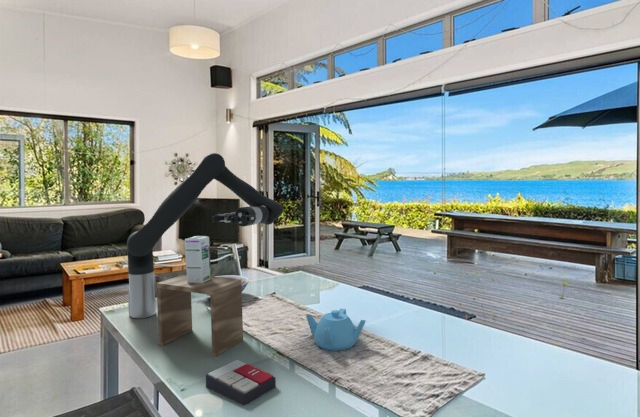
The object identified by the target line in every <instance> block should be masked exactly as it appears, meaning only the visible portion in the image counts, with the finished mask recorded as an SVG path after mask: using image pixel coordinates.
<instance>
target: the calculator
mask: <svg viewBox="0 0 640 417" xmlns="http://www.w3.org/2000/svg"><path fill="white" fill-rule="evenodd" d="M276 379H277V378H276V377H275V376H274V375H273V374H270V373H269V372H266V371H264V370H262V369H260V368H258V367H256V366H254V365H251V364H249V363H246V362H243V361H241V360H239V359H236V360H233V361H231V362H229V363H227V364H225V365H223V366H221V367H218V368H217V369H214V370H212V371H211V372H208V373H207V374H205V387H206V389H209V390H211V391H213V392H214V393H215V392H216V393H219V394H220V395H222V396H224V397H226V398H227V399H230V400H232V401H234V402H236V403H238V404H240V405H242V406H246V405H248V404H250V403H251V402H253V401H255V400H257V399H258V398H261V396H263V395H265V394H267V393H269V392H270V391H272V390H274V389H275V388H276V381H277V380H276Z"/></svg>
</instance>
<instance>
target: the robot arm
mask: <svg viewBox="0 0 640 417" xmlns="http://www.w3.org/2000/svg"><path fill="white" fill-rule="evenodd" d="M213 180H215V181H217V182H219V183H220V184H222V185H223V186H224V187H226V188H228V189H229V190H230V191H231V192H233V193H234V194H235V195H236V196H237V197H238V198H240V199H241V200H242V201H243V202H244V203H246V204H247V205H248V206H242V207H239V208H237V209H236V210H235V211H234V212H230V213H229V212H225V213H217V214H215V215H213V216H212V217H211V221H212V223H221V222H224V223H226V224H227V223H230V224H237V225H238V226H240V227H247V226H248V227H249V226H255V225H257V224H263V225H267V226H268V225H272V224H274V222H276V220H277V219H279V217H280V216H282V214H283V213H284V208H283V205H282V204H281V203H280V202H278V201H276V200H274V199H272V198H269V197H268V196H265V195H263V193H261V192H259V191H258V190H257V189H256V188H255V187H254V186H252V185H251V184H249V183H248V182H246V181H245V180H243V179H241V178H239V176H237V175H236V174H235V173H233V172H232V171H231V170H230V169H229V168H228V167H227V166H226V161H225V159H224V157H223V156H222V155H221V154H220V153H216V152H212V153H211V152H210V153H209V154H207V155H205V156H204V157H203V159H202V160H201V162H200V163H199V164H198V166H197V167H196V169H194V171H193V172H192V173H191V174H190V175H189V176H188V177H187V178H185V180H183V181H182V182H181V183H180V184H178V186H176V188H174V190H172V191H171V193H170V194H169V195H167V197H166V198H165V199H164V200H163V201H162V202H161V204H160V205H159V206H158V208H156V211H155V212H154V214H153V216H152V217H151V218H150V219H149V221H148V222H147V223H146V224H144V225H143V227H141V228H140V229H139V230H136V231H134V232H132V233H131V234H130V235H129V236H128V238H127V240H126V248H127V249H126V250H127V251H126V252H127V266H128V267H127V270H128V282H129V283H128V284H129V285H128V286H129V289H128V292H127V301H128V302H127V303H128V316H130V317H131V318H133V319H145V318H149V317H153V316H155V315H156V314H157V308H156V304H157V303H156V285H155V284H156V282H155V268H154V267H155V265H154V264H155V263H154V251H153V250H154V247H156V245H157V243H158V242H159V241H160V239H161V238H162V236H163V235H164V234H165V233H166V232H167V231H168V230H169V229H170V228H171V227H172V226H173V225H174V224H175V223H177V221H178V220H180V219H181V218H182V217H183V215H185V214H186V212H187V211H188V210H189V209H190V208H191V207H192V205H193V204H194V203H195V202H196V200H197V199H198V198H199V196H200V195H201V194H202V192H203V191H204V190H205V188H206V187H207V186H208V185H209V184H210V183H211V182H212V181H213Z"/></svg>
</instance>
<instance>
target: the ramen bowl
mask: <svg viewBox="0 0 640 417" xmlns="http://www.w3.org/2000/svg"><path fill="white" fill-rule="evenodd" d="M214 277H223V278H232V279H241V284H242V292H243V291H244V290H245V289H246V287H247V285H248V284H249V282H250V279H249V278H248V277H247V276H243V275H234V274H232V275H231V274H230V275H226V274H225V275H216V276H214ZM205 295H206V296H208V297H210V295H208V294H205Z"/></svg>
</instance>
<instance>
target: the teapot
mask: <svg viewBox="0 0 640 417" xmlns="http://www.w3.org/2000/svg"><path fill="white" fill-rule="evenodd" d="M305 317H306V320H307V323H308V326H309V329H310V332H311V335H312V336H313V340H314V342H315V344H317V345H318V347H319V348H320V349H323V350H327V351H332V352H333V351H334V352H339V351H345V350H348V349H350V348H352V347H353V345H354V344H356V342H357V341H358V339H359V337H360V335H361V333H362V331H363V329H364V326H365V323H367V322H366V321H367V320H366V319H360V322H359V323H358V324H357V327H355V324H354V323H353V321H352V320H351V318H350V317H349V316H348V315H347V309H346V308H340V309H339V310H338V309H337V310H336V309H334V310H331V311H330V312H327V313H325V314H324V315H322V317H321V318H319V321H318V322H317V320H315V317H313V314H306V315H305Z"/></svg>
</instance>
